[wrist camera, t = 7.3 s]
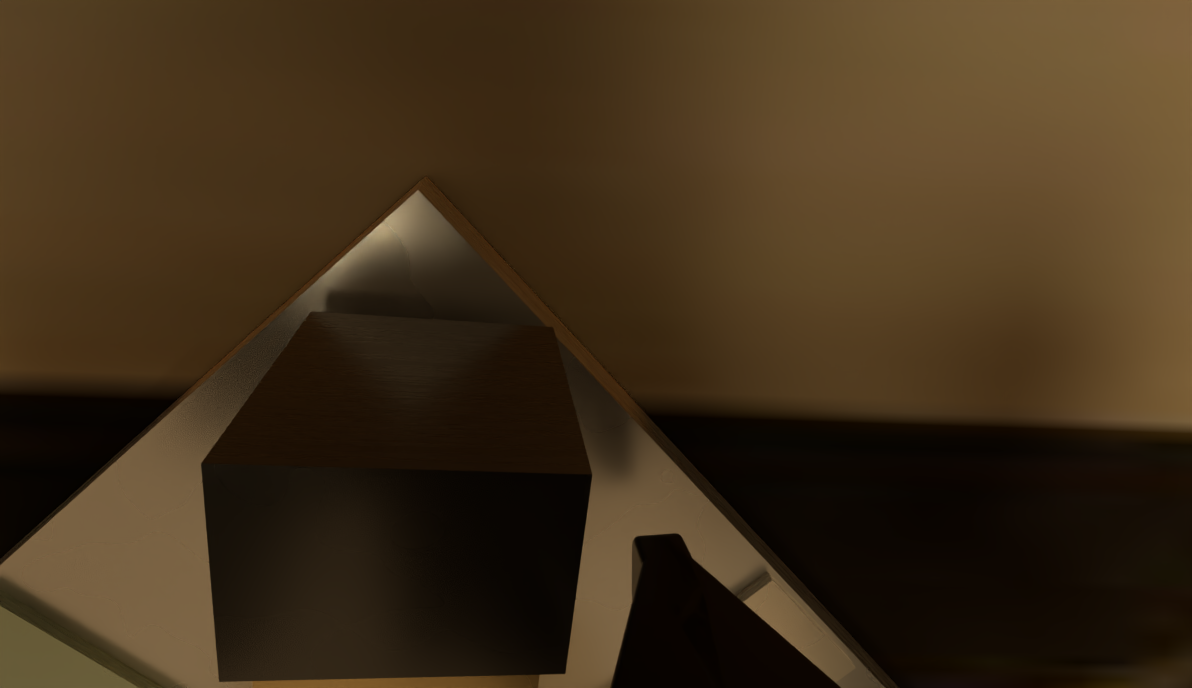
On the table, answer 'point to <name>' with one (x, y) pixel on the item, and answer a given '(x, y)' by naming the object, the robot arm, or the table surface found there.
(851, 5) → the table surface
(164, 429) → the post base
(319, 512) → the octagonal ring with handle
